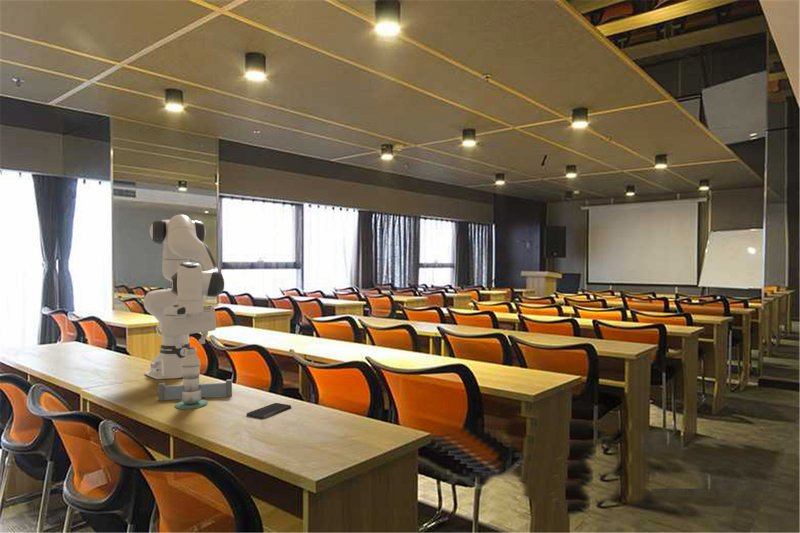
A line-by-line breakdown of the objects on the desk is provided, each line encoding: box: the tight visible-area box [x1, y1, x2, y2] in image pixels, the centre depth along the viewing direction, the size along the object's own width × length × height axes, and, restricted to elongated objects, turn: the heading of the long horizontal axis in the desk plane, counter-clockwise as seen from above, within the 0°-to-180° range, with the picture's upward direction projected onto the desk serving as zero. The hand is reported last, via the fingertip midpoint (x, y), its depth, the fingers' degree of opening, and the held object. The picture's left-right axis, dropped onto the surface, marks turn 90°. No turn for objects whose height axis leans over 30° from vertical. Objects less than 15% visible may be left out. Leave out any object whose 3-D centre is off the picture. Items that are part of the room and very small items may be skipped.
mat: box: [174, 399, 208, 410], centre depth 184 cm, size 11×11×1 cm
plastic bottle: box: [181, 346, 202, 404], centre depth 184 cm, size 6×7×20 cm
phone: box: [246, 402, 292, 420], centre depth 176 cm, size 8×1×15 cm
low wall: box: [157, 378, 233, 401], centre depth 194 cm, size 26×2×6 cm, turn 103°
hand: (190, 346), depth 184 cm, fingers open, 8 cm apart
